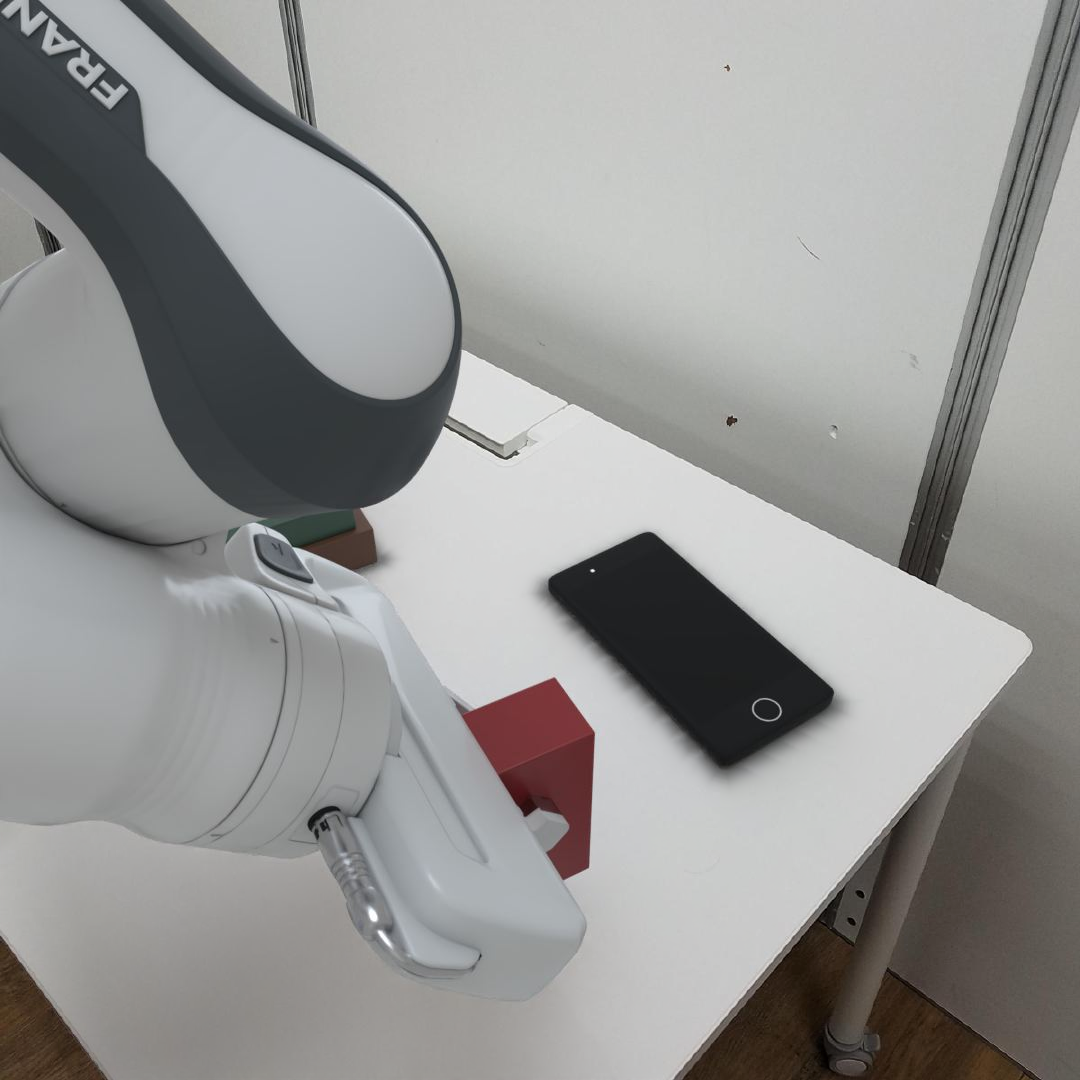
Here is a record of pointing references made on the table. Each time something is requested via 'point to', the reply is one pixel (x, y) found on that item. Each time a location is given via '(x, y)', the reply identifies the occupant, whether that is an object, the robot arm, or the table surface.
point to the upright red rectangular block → (543, 760)
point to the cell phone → (691, 646)
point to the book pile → (328, 536)
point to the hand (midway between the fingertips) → (525, 784)
